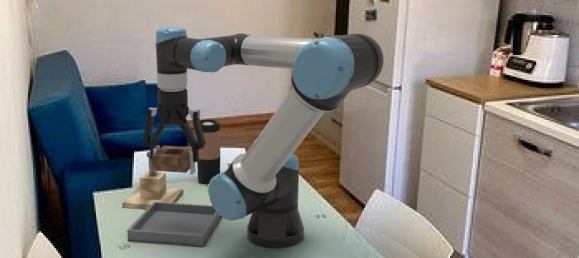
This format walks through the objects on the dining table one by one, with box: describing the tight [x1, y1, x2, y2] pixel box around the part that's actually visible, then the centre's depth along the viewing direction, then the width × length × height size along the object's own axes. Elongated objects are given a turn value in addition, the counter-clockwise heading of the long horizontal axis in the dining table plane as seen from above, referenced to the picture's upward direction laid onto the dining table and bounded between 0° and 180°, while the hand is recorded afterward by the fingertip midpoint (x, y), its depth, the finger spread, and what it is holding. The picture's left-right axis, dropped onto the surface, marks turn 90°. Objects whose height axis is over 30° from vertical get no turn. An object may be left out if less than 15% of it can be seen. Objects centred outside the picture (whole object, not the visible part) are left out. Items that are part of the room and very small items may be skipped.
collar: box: [152, 145, 197, 174], centre depth 167 cm, size 9×9×4 cm
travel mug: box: [195, 118, 221, 186], centre depth 205 cm, size 8×8×20 cm
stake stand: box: [121, 151, 184, 210], centre depth 189 cm, size 14×14×15 cm
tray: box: [126, 202, 222, 248], centre depth 172 cm, size 20×20×3 cm
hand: (175, 171), depth 168 cm, fingers closed on collar, 9 cm apart
